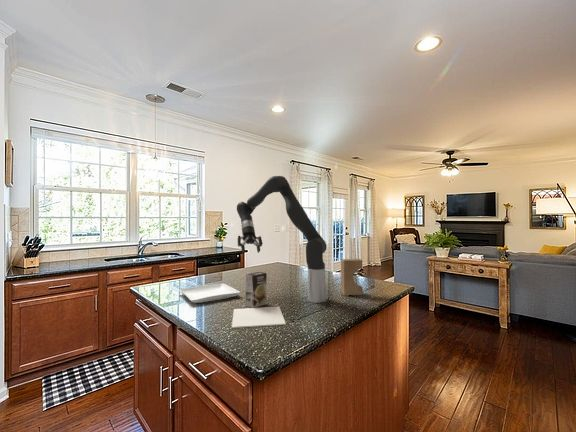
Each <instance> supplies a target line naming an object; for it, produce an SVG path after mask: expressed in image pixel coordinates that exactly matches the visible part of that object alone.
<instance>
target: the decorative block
mask: <svg viewBox="0 0 576 432" xmlns="http://www.w3.org/2000/svg"><path fill="white" fill-rule="evenodd" d="M362 269H363V259H361V258H342V259H340V292H341V295H343V297H348V296H349V295H353V296H363V294H364V293H363V291H364V289H363V288H364V287H363V286H362V285H360V284H358V283H356V282H355V280H354V275H355V273H356V272H357V271H359V270H362Z"/></svg>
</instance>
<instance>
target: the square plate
mask: <svg viewBox="0 0 576 432" xmlns="http://www.w3.org/2000/svg"><path fill="white" fill-rule="evenodd" d="M178 291H179V292H180V293H181V294H183V296H185V297H187V299H188V300H189V301H191V303H193V304H204V303H208V302H209V301H210V302H215V301H220V300H225V299H230V298H234V297H236V296H238V295H240V294H241V291H240V290H238V289H235V288H234V287H232V286H231V285H228V284H225V283H214V284H205V285H199V286H198V285H196V286H193V287H186V288H181V289H178ZM203 302H204V303H203ZM210 302H209V303H210Z"/></svg>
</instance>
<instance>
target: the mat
mask: <svg viewBox="0 0 576 432" xmlns="http://www.w3.org/2000/svg"><path fill="white" fill-rule="evenodd" d="M232 313H233V314H232V322H231V329H242V328H257V327H272V326H286V324H287V323H286V320H285V317H284V316H283V313H282V309H281V307H280V306H266V307H265V306H264V307H256V308H251V307H247V308H246V307H245V308H234V309H233V312H232Z"/></svg>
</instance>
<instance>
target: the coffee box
mask: <svg viewBox="0 0 576 432" xmlns="http://www.w3.org/2000/svg"><path fill="white" fill-rule="evenodd" d="M267 280H268V279H267V272H264V271H263V272H261V271H256V272H252V273H251V272H250V273H246V274H245V307H247V308H260V307H262V306H265V305H267V300H268V299H267V298H268V296H267V291H268V290H267V284H268V283H267Z"/></svg>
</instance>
